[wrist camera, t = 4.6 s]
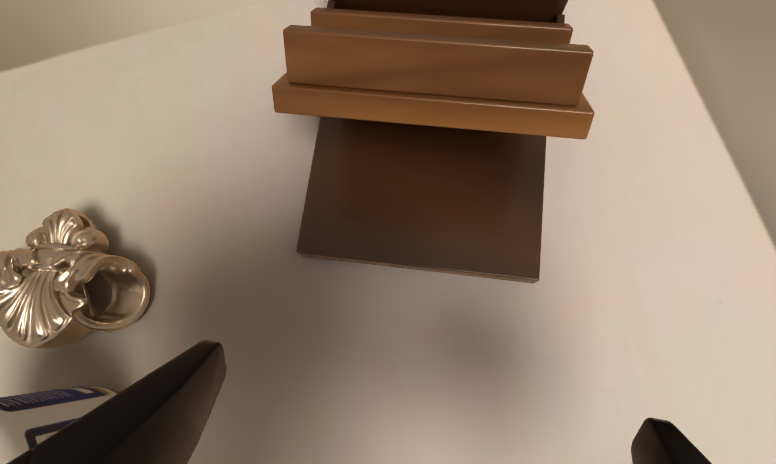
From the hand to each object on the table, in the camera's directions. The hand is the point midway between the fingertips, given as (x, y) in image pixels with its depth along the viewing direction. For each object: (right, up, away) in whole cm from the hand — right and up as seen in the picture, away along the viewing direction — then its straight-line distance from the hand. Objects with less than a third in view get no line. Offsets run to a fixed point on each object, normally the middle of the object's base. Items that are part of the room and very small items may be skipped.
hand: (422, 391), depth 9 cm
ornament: (-17, +1, +14) cm, 22 cm away
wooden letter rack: (+1, +10, +11) cm, 15 cm away
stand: (+1, +8, +15) cm, 17 cm away
